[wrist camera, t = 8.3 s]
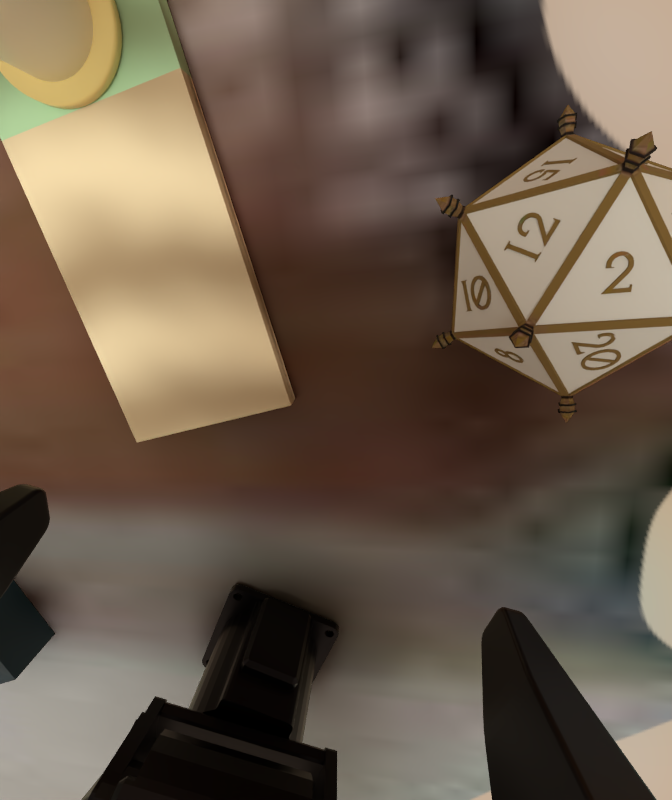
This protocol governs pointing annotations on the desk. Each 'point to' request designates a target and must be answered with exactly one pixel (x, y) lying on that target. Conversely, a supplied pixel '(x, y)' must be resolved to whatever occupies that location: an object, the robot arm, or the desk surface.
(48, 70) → the peg
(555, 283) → the game die
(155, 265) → the board
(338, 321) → the desk surface
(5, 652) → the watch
